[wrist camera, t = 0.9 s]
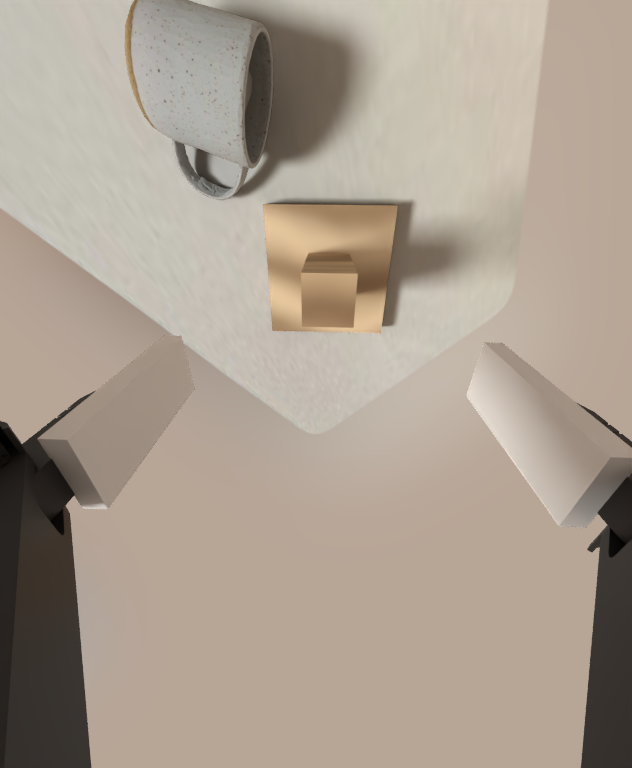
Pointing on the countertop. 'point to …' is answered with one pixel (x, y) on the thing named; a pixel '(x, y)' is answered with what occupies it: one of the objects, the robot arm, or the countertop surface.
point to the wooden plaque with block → (328, 265)
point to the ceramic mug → (202, 82)
